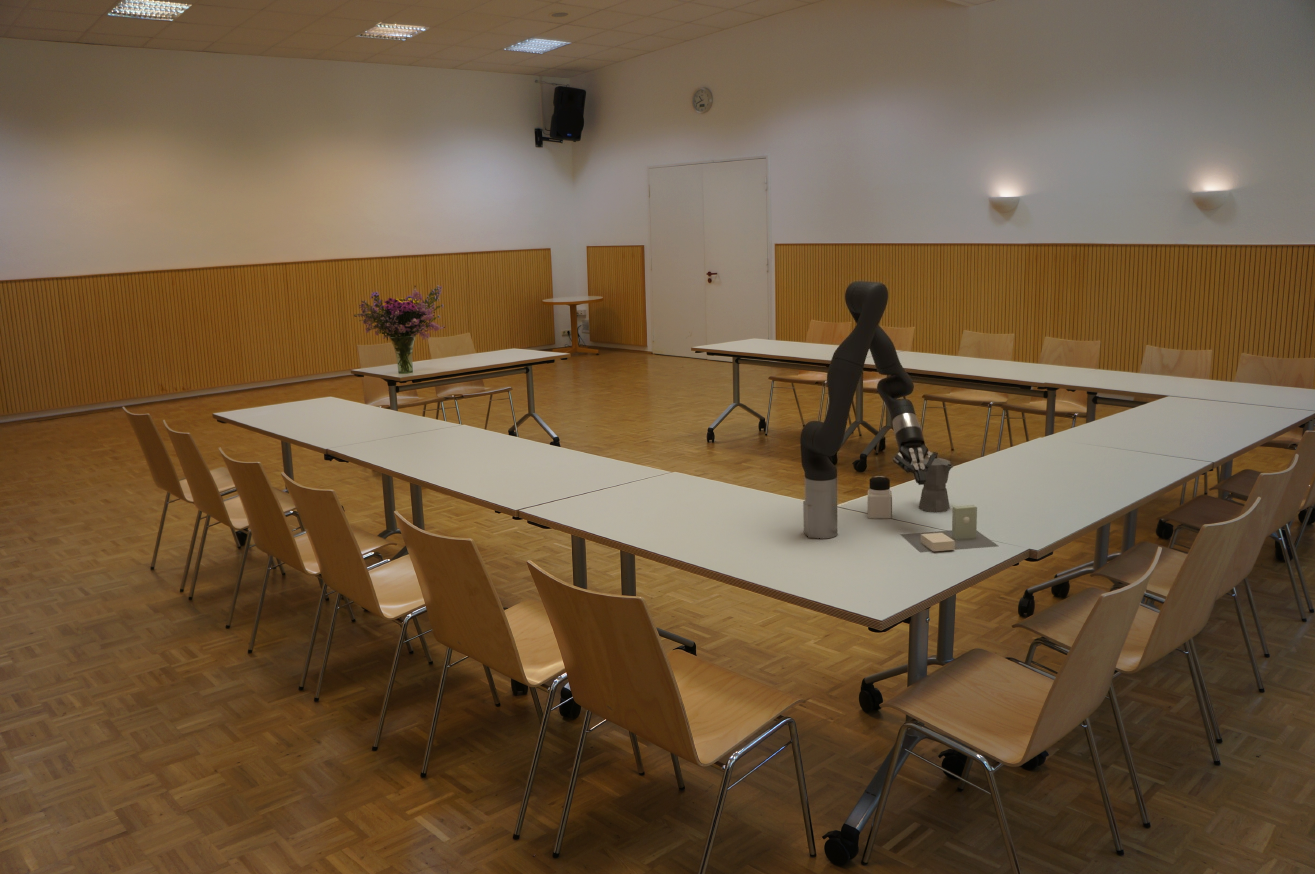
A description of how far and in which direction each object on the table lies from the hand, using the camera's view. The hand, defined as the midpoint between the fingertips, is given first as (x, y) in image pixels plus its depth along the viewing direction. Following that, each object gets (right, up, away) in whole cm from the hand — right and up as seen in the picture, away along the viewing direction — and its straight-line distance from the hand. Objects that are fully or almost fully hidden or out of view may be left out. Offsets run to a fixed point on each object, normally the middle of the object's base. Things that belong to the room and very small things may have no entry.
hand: (922, 483), depth 267 cm
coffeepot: (+11, -9, +30) cm, 33 cm away
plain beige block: (+1, -15, -4) cm, 15 cm away
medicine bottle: (-6, -11, +25) cm, 28 cm away
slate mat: (+6, -16, -3) cm, 18 cm away
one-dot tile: (+11, -15, -2) cm, 19 cm away
